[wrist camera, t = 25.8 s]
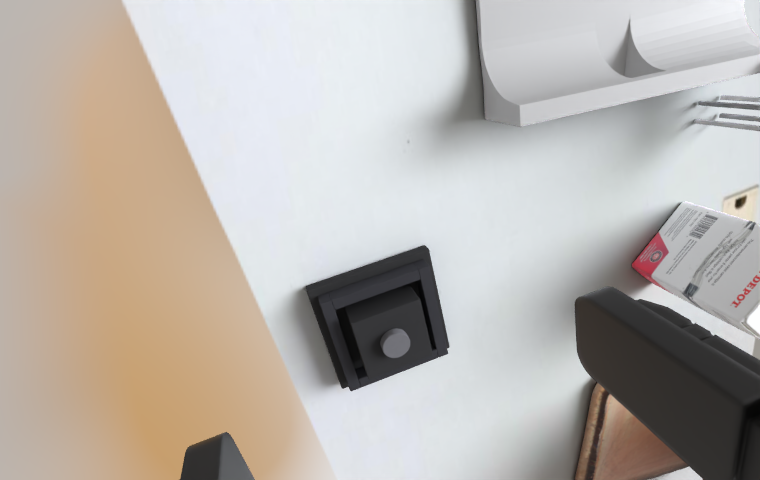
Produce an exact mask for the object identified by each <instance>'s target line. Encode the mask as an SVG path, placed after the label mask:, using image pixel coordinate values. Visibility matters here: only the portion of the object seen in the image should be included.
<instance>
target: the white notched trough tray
mask: <svg viewBox="0 0 760 480" xmlns="http://www.w3.org/2000/svg"><path fill="white" fill-rule="evenodd" d="M476 9H477V23H478V38H479V49H480V58H481V67H482V76H483V85H484V108H485V120H489V121H494V122H499V123H505V124H510V125H515V126H519V127H522V126H526V125H531V124H535V123H540V122H544V121H548V120H553V119H557V118H562V117H566V116H571V115H575V114H580V113H584V112H589V111H593V110H597V109H602V108H606V107H611V106H615V105H620V104H624V103H629V102H633V101H638V100H642V99H646V98H651V97H655V96H660V95H664V94H668V93H673V92H677V91H682V90H686V89H691V88H695V87H699V86H704V85H708V84H713V83H717V82H721V81H726V80H730V79H735V78H739V77H743V76H748V75H752V74H757V73H760V37H759V36H758V35H757V34H756V33H755V32H754V31H753V30H752V28H751V27H750V25H749V23H748V21H747V18H746V14H745V9H744V0H476ZM720 100H736V101H751V102H760V97H747V96H729V95H722V96H721V98H720ZM698 105H702V106H715V107H727V108H739V109H752V110H760V105H753V104H739V103H725V102H710V101H699V102H698ZM719 118H729V119H739V120H748V121H758V122H760V117H756V116H745V115H735V114H724V113H722V114H720V116H719ZM694 123H697V124H705V125H714V126H722V127H730V128H738V129H746V130H755V131H760V126H756V125H747V124H738V123H729V122H720V121H711V120H702V119H695V122H694Z"/></svg>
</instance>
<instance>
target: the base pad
mask: <svg viewBox="0 0 760 480" xmlns="http://www.w3.org/2000/svg"><path fill="white" fill-rule="evenodd" d="M406 284H409V285H410V286H411V288H412V289H413V290H414V292H415V293H416V295H417V296H418V297H419V299H420V302H421V306H422V310H423V314H424V319H425V323H426V327H427V332H428V336H429V340H430V344H431V349H432V353H433V355H432V356H429V357H427V358H424V359H421V360H419V361H416V362H414V363H411V364H409V365H406V366H403V367H401V368H398V369H396V370H393V371H390V372H388V373H385V374H383V375H380V376H377V377H375V378H372V379H370V380H369V379H368V377H367V374H366V371H365V368H364V366H363V363H362V360H361V357H360V354H359V351H358V348H357V345H356V342H355V339H354V336H353V333H352V330H351V327H350V324H349V320H348V317H347V314H346V311H345V308H344V307H345V306H347V305H350V304H353V303H356V302H359V301H361V300H364V299H367V298H370V297H373V296H375V295H378V294H381V293H384V292H387V291H389V290H392V289H395V288H398V287H401V286H403V285H406ZM306 290H307V293H308V296H309V299H310V302H311V304H312V307H313V310H314V313H315V315H316V318H317V321H318V324H319V326H320V329H321V332H322V335H323V337H324V340H325V343H326V346H327V348H328V351H329V354H330V357H331V359H332V362H333V365H334V368H335V370H336V373H337V376H338V379H339V382H340V384H341V387H342V389H343V388H346V387H349V388H350V391H353V390H356V389H358V388H361V387H364V386H366V385H369V384H371V383H374V382H376V381H379V380H382V379H384V378H387V377H389V376H392V375H394V374H397V373H400V372H402V371H405V370H407V369H410V368H412V367H415V366H418V365H420V364H423V363H425V362H428V361H430V360H433V359H436V358H438V357H441V356H443V355H446V354H448V351H447V348H449V342H448V338H447V333H446V328H445V324H444V319H443V314H442V309H441V305H440V300H439V295H438V291H437V286H436V281H435V276H434V272H433V267H432V262H431V258H430V253H429V249H428V248H427V247H426V246H421V247H418V248H415V249H413V250H410V251H407V252H404V253H401V254H398V255H395V256H392V257H389V258H387V259H384V260H381V261H378V262H375V263H372V264H369V265H366V266H363V267H360V268H358V269H355V270H352V271H349V272H346V273H343V274H340V275H337V276H334V277H331V278H329V279H326V280H323V281H320V282H317V283H314V284H311V285H308V286H306Z"/></svg>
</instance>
